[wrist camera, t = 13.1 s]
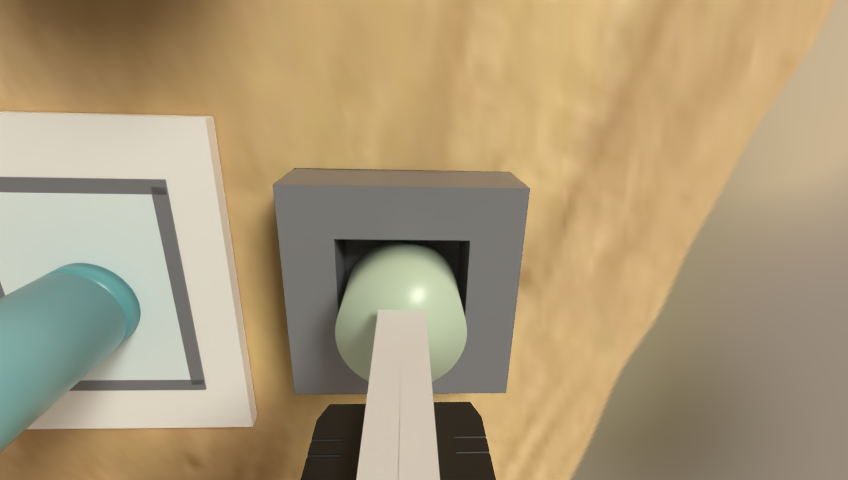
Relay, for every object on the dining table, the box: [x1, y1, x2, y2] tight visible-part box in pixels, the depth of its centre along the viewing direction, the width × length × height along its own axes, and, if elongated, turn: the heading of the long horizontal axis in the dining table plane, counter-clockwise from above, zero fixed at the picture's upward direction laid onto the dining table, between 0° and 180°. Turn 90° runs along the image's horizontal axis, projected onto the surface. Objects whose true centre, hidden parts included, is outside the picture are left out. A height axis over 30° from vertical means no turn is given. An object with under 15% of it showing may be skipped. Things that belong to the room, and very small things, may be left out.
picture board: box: [0, 111, 257, 429], centre depth 18 cm, size 15×13×1 cm
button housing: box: [273, 168, 530, 394], centre depth 17 cm, size 9×9×3 cm
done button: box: [335, 240, 467, 382], centre depth 15 cm, size 4×4×3 cm
